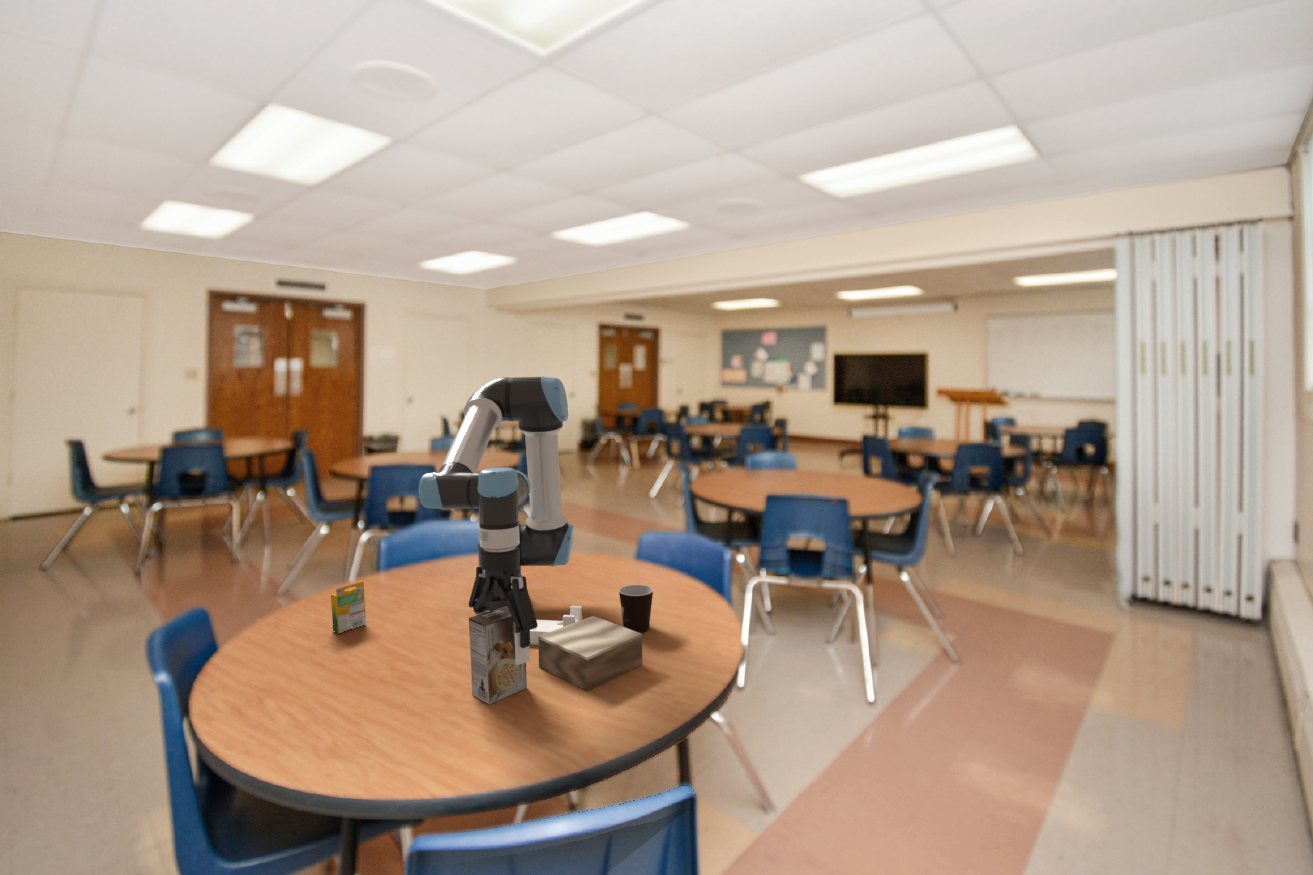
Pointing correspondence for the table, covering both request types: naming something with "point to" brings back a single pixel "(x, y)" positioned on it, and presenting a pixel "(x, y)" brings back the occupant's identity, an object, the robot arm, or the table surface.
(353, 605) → the crayon box
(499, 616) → the coffee box
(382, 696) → the table surface
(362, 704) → the table surface
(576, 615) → the bracket
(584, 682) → the riser block
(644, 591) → the coffee mug
